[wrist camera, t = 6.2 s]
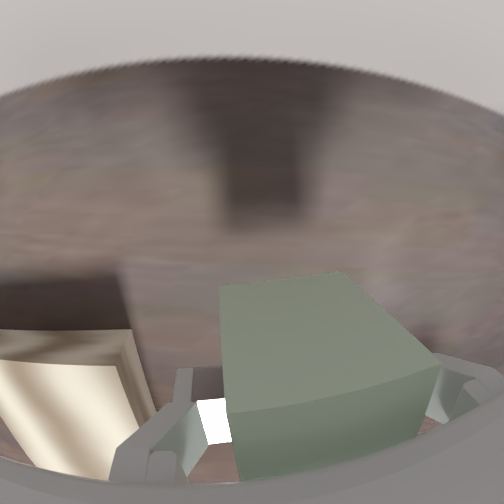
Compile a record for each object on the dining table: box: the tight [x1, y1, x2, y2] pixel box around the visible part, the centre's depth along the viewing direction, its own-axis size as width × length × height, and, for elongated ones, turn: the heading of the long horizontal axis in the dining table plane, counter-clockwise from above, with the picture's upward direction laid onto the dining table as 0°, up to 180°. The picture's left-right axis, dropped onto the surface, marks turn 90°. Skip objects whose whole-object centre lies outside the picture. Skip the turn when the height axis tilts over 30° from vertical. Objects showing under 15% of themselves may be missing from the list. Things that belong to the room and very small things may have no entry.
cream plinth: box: [0, 329, 157, 480], centre depth 15 cm, size 11×11×4 cm
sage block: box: [218, 271, 442, 481], centre depth 8 cm, size 4×4×6 cm
